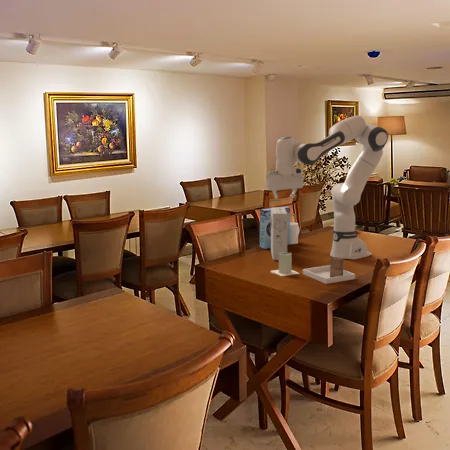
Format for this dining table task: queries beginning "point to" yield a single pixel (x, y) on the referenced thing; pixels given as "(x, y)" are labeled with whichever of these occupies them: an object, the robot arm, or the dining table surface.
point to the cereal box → (278, 231)
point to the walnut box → (336, 266)
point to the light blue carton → (266, 227)
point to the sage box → (285, 262)
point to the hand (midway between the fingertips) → (284, 198)
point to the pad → (284, 273)
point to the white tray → (327, 274)
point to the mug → (294, 232)
